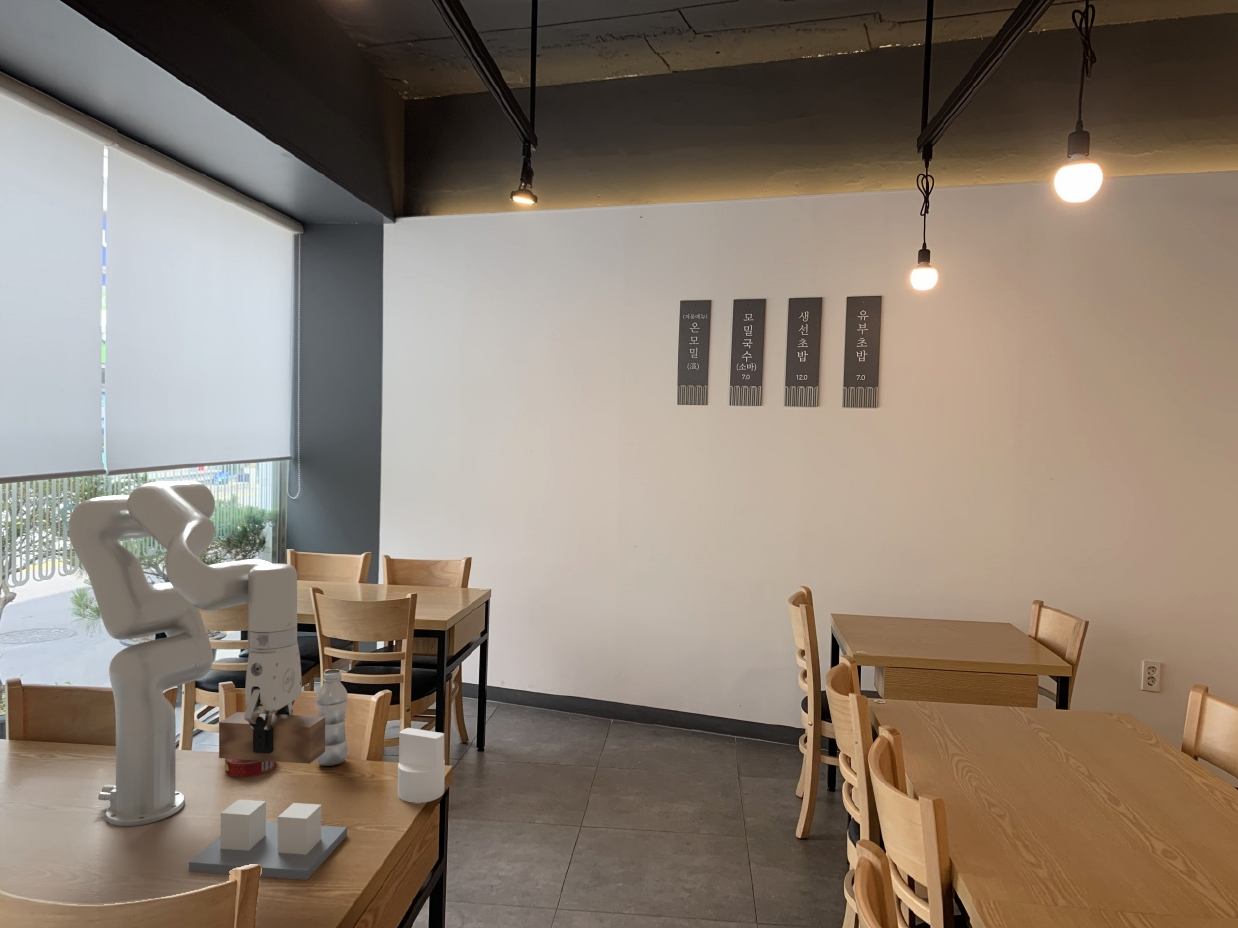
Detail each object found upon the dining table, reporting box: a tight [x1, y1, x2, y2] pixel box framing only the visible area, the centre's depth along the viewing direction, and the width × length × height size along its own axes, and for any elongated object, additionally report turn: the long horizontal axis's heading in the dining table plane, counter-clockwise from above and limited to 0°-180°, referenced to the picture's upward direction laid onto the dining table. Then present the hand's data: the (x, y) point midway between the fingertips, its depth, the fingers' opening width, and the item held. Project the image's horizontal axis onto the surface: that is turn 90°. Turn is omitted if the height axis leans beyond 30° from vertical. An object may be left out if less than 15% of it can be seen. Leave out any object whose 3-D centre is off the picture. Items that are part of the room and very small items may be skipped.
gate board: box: [188, 799, 348, 881], centre depth 129 cm, size 20×14×8 cm
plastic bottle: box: [315, 668, 349, 767], centre depth 166 cm, size 6×7×20 cm
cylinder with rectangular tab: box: [397, 727, 446, 804], centre depth 153 cm, size 9×9×12 cm
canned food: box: [224, 758, 277, 778], centre depth 164 cm, size 11×10×10 cm
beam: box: [218, 711, 325, 765], centre depth 129 cm, size 16×5×6 cm, turn 83°
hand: (272, 744), depth 129 cm, fingers closed on beam, 5 cm apart
